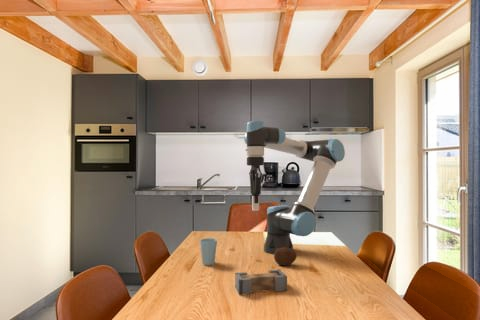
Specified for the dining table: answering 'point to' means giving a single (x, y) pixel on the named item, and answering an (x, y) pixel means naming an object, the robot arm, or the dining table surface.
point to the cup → (208, 250)
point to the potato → (284, 256)
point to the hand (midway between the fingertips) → (255, 210)
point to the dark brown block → (261, 281)
